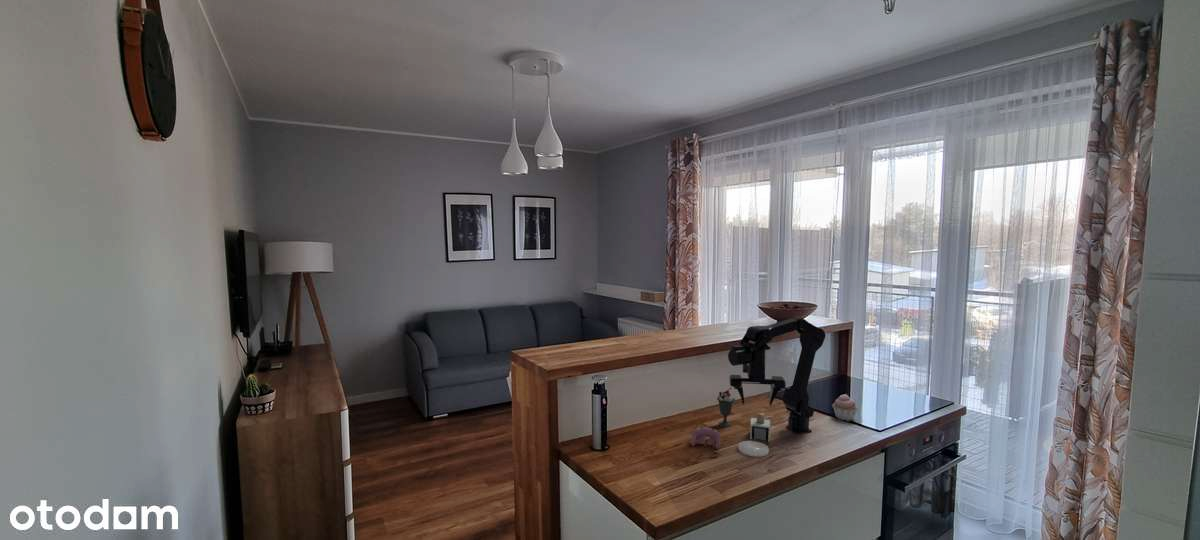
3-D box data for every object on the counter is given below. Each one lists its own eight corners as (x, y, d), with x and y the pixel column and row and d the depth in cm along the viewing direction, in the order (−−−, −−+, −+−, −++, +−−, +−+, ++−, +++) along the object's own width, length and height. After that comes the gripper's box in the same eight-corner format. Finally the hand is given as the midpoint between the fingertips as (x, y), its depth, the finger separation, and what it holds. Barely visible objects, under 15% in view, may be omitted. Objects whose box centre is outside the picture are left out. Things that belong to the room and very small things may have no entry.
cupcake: (862, 419, 187) (863, 395, 187) (850, 424, 182) (851, 399, 181) (839, 412, 195) (840, 388, 194) (826, 417, 190) (827, 392, 189)
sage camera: (769, 434, 173) (770, 412, 172) (769, 442, 166) (770, 418, 166) (750, 432, 175) (751, 409, 174) (750, 439, 169) (750, 416, 168)
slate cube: (765, 435, 172) (766, 425, 172) (765, 440, 168) (766, 429, 168) (754, 434, 173) (754, 423, 173) (754, 438, 169) (754, 427, 169)
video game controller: (720, 450, 163) (721, 429, 165) (719, 450, 159) (721, 428, 161) (692, 446, 166) (693, 425, 169) (690, 445, 162) (692, 424, 165)
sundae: (734, 428, 178) (735, 389, 177) (716, 427, 179) (717, 388, 178) (733, 422, 184) (734, 384, 183) (715, 420, 186) (716, 383, 185)
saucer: (758, 442, 166) (758, 439, 166) (774, 455, 156) (775, 452, 156) (732, 445, 164) (732, 442, 164) (747, 458, 154) (747, 455, 154)
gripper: (780, 357, 175) (780, 398, 176) (728, 355, 179) (728, 395, 180) (786, 365, 164) (785, 409, 165) (730, 363, 168) (730, 406, 169)
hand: (756, 404), depth 170 cm, fingers open, 9 cm apart
